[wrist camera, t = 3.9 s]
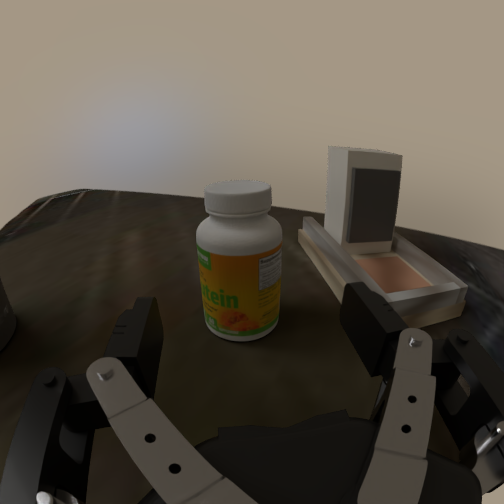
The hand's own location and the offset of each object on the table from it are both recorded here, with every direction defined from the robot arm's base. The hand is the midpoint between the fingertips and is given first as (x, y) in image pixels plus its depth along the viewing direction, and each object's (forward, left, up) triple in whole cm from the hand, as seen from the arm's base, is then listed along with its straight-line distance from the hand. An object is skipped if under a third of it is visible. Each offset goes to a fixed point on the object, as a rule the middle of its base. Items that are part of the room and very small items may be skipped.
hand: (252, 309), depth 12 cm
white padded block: (+13, +16, -4) cm, 21 cm away
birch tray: (+13, +12, -6) cm, 19 cm away
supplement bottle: (0, +7, -6) cm, 10 cm away
